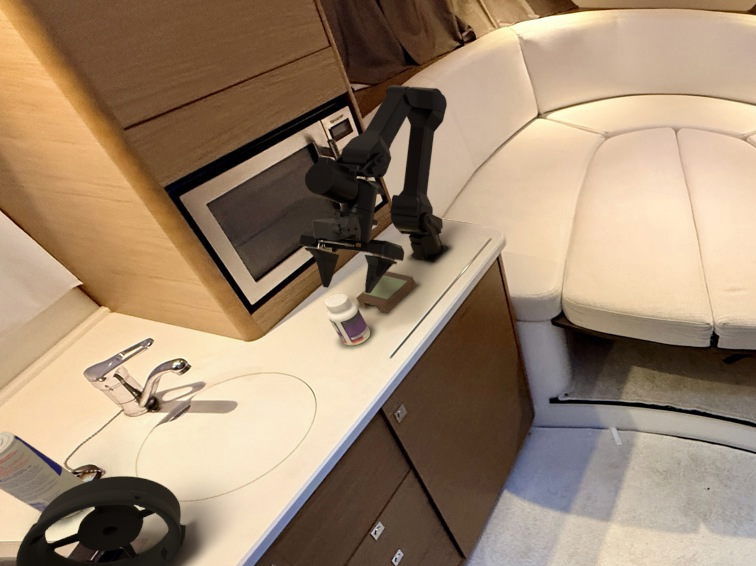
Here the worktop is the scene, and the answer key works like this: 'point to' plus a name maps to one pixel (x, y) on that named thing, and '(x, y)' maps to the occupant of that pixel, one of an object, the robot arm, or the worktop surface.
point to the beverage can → (31, 473)
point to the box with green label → (387, 291)
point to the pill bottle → (347, 320)
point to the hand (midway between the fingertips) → (346, 290)
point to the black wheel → (107, 523)
